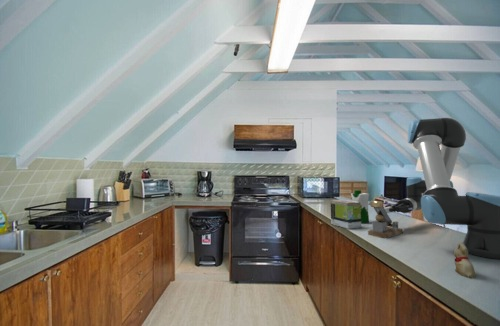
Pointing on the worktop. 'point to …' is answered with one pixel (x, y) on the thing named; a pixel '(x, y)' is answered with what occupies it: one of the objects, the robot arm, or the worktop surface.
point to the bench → (388, 231)
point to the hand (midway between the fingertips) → (384, 210)
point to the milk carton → (362, 204)
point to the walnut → (379, 217)
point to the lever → (381, 211)
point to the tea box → (346, 213)
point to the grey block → (380, 226)
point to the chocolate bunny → (463, 261)
